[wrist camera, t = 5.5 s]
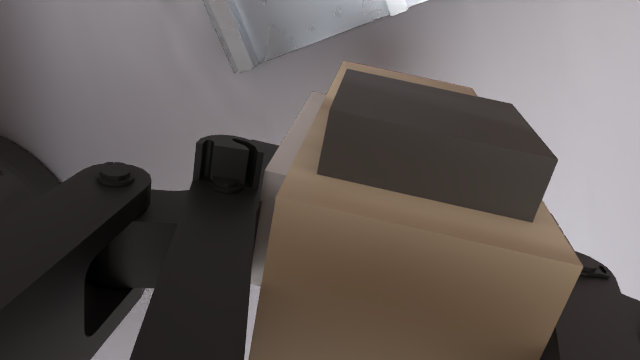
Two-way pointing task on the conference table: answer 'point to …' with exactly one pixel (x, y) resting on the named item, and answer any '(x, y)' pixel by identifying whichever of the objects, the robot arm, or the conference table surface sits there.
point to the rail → (288, 24)
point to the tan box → (413, 230)
